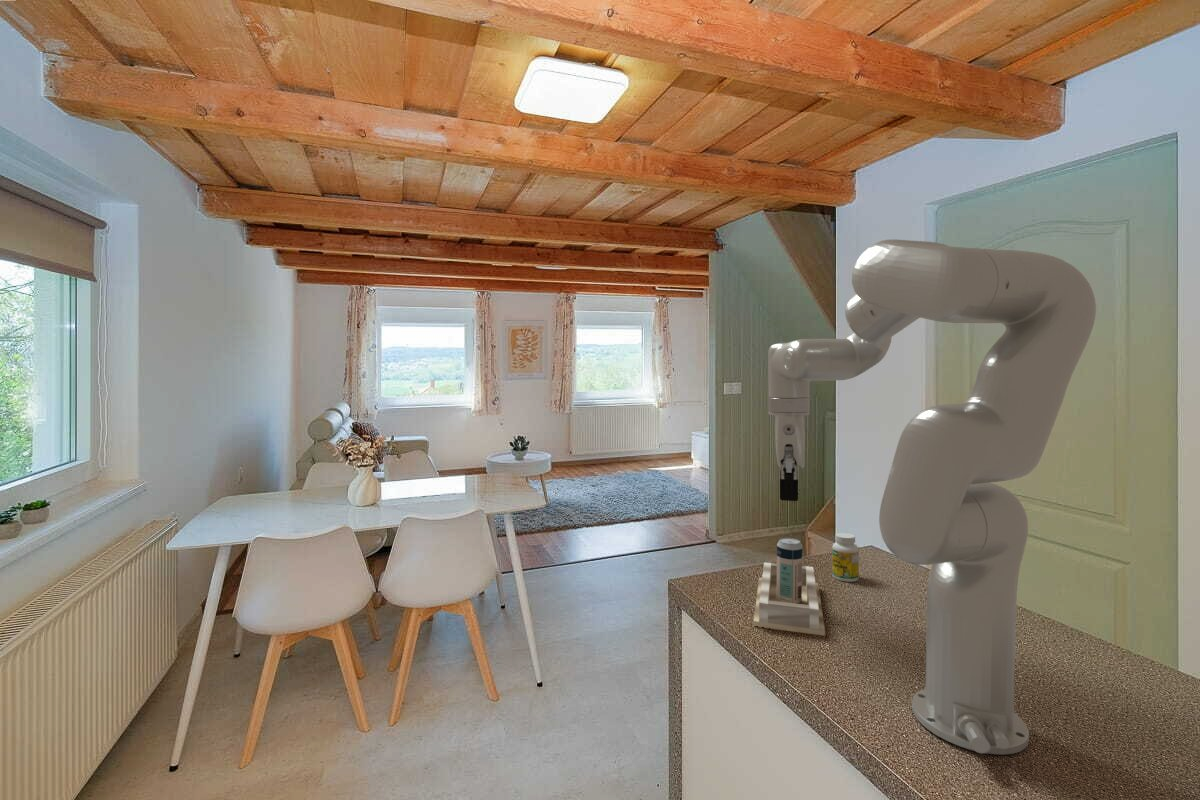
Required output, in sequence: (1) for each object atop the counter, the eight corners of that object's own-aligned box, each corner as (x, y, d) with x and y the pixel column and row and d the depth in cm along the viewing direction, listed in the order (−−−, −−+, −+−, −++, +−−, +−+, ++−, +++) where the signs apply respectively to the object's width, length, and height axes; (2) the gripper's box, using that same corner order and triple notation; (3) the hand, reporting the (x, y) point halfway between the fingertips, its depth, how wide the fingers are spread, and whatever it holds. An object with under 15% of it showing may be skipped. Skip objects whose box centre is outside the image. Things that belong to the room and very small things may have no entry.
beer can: (798, 596, 110) (799, 537, 109) (805, 606, 105) (805, 544, 104) (773, 595, 110) (774, 536, 110) (779, 605, 105) (779, 544, 105)
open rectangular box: (824, 635, 95) (825, 610, 95) (753, 626, 99) (753, 602, 99) (818, 588, 116) (818, 567, 116) (759, 582, 120) (759, 561, 120)
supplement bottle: (863, 579, 121) (864, 536, 121) (848, 584, 118) (849, 540, 118) (841, 571, 126) (842, 530, 125) (826, 576, 123) (827, 534, 122)
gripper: (811, 409, 97) (811, 506, 97) (807, 404, 113) (807, 487, 114) (766, 409, 99) (767, 503, 100) (769, 404, 115) (769, 485, 116)
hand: (788, 494), depth 107 cm, fingers open, 9 cm apart
